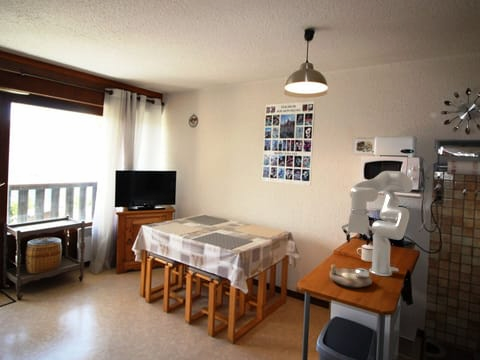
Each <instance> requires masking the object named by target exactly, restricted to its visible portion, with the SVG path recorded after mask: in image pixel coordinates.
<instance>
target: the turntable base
mask: <svg viewBox="0 0 480 360" xmlns="http://www.w3.org/2000/svg"><path fill="white" fill-rule="evenodd" d="M335 283H337V282H335ZM337 284H338V285H340V286H343V287H345V288H350V289H361V288H364V287H365V286H362V287H355V286H348V285H343V284H340V283H337Z"/></svg>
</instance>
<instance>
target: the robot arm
mask: <svg viewBox="0 0 480 360" xmlns="http://www.w3.org/2000/svg"><path fill="white" fill-rule="evenodd" d="M413 187H414V185H413V180H411V178H410V177H409V176H408V175H407V174H406V173H405V172H403V171H400V170H398V171H397V170H396V171H395V170H384V171H381V172H380V173H378V175H376V176H375V177H374V178H370V179H368V180H363V181H360V182H358V183H356V184H355V185H354V186H353V187H351V190H350V192H349V196H350V198H351V209H350V211H351V212H350V213H349V217H348V221H347V222H348V223H347V224H343V225H342V226H341V229H342V231H343V233H344V234H345V235H346V237H345V238H346V239H345V240H346V243H350V241H351V233H354V234H359V235H360V234H361V235H365V236H366V241H365V242H366V244H365V245H369V244H370V245H371V237H372V246H373V257H372V262H371V267H370V268H369V269H368V271H369V273H371V274H373V275H375V276H379V277H380V276H381V277H390V276H393V272H397V273H398V272H399V268H398V267H395V266H391V243H390V242H391V241H390V239H392V240H397V241H398V240H402V239H403V238H404V236H405V233H406V230H407V226H408V224H409V223H408V222H409V220H410V211H409V210H408V209H407V208H406V207H401V206H399V204H400V199H399V196H398V195H397V194H396V193H405V194H407V193H411V191H413ZM381 192H383V198H384V200H383V202H382V204H381V209H380V210H379V218H380V220H375V221H374V222H373V223H372V225H371V226H370V219H369V215H368V214H370V210H368V208H367V207H368V205H367V203H368V202H369V203H370V202H371V203H373V202H375V201H376V200H377V199H378V198H379V193H381ZM346 228H347V229H346ZM370 231H371V233H369V232H370Z"/></svg>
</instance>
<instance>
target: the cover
mask: <svg viewBox="0 0 480 360" xmlns="http://www.w3.org/2000/svg"><path fill="white" fill-rule="evenodd" d="M354 270H355V277H357V278H359V279H368V278H369V275H370V271H369V269H366V268H363V267H362V268H361V267H359V268H355V269H354Z"/></svg>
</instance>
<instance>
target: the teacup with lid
mask: <svg viewBox="0 0 480 360" xmlns="http://www.w3.org/2000/svg"><path fill="white" fill-rule="evenodd" d="M359 250H361V253H360V252H359ZM356 252H357V255H359V256H361V258H360V259H361V260H362V261H364V262H367V263H368V262H370V263H372V257H373V244H371V243H370V244H369V245H366V244H363V245H361V247H358V248H356Z"/></svg>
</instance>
